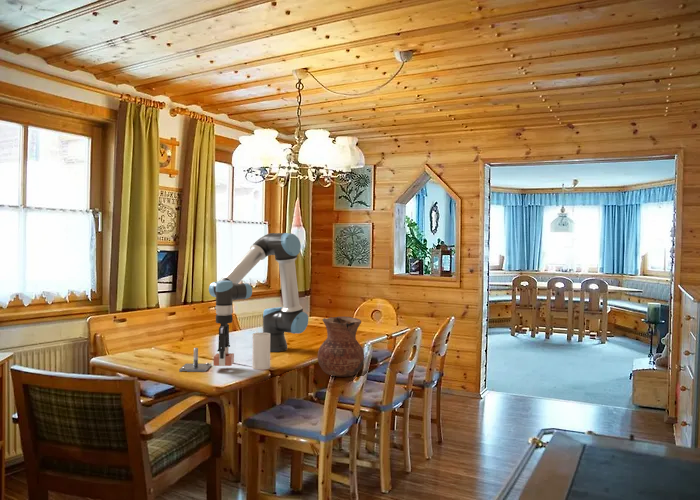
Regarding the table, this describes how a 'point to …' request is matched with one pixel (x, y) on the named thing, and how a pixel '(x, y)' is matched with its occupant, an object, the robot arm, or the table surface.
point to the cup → (261, 351)
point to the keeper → (195, 365)
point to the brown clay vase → (341, 347)
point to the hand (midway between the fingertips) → (223, 363)
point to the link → (228, 359)
